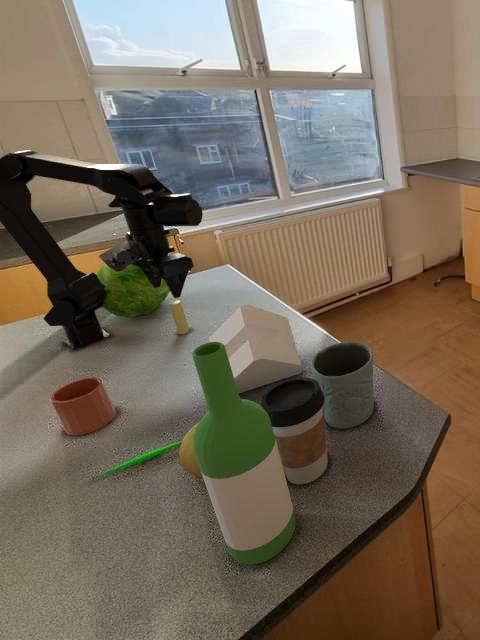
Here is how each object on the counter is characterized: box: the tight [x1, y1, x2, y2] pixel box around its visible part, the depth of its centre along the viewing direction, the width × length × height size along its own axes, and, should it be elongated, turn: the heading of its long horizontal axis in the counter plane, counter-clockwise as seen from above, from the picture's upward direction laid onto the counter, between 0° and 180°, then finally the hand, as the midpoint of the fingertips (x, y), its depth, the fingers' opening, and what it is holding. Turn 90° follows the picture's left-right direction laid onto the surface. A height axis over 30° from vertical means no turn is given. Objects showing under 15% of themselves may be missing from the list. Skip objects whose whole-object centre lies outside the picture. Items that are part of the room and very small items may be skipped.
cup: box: [49, 376, 116, 436], centre depth 74 cm, size 6×6×7 cm
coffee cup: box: [260, 377, 329, 485], centre depth 64 cm, size 8×8×15 cm
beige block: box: [208, 304, 303, 394], centre depth 84 cm, size 14×11×18 cm
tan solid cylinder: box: [168, 299, 191, 335], centre depth 101 cm, size 2×2×8 cm
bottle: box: [191, 342, 297, 566], centre depth 51 cm, size 8×8×30 cm
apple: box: [178, 421, 204, 480], centre depth 66 cm, size 10×10×8 cm
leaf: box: [93, 440, 183, 479], centre depth 68 cm, size 1×14×1 cm, turn 130°
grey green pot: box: [310, 341, 375, 430], centre depth 76 cm, size 10×10×12 cm
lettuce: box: [94, 263, 171, 318], centre depth 109 cm, size 15×23×16 cm
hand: (167, 292), depth 96 cm, fingers open, 9 cm apart
